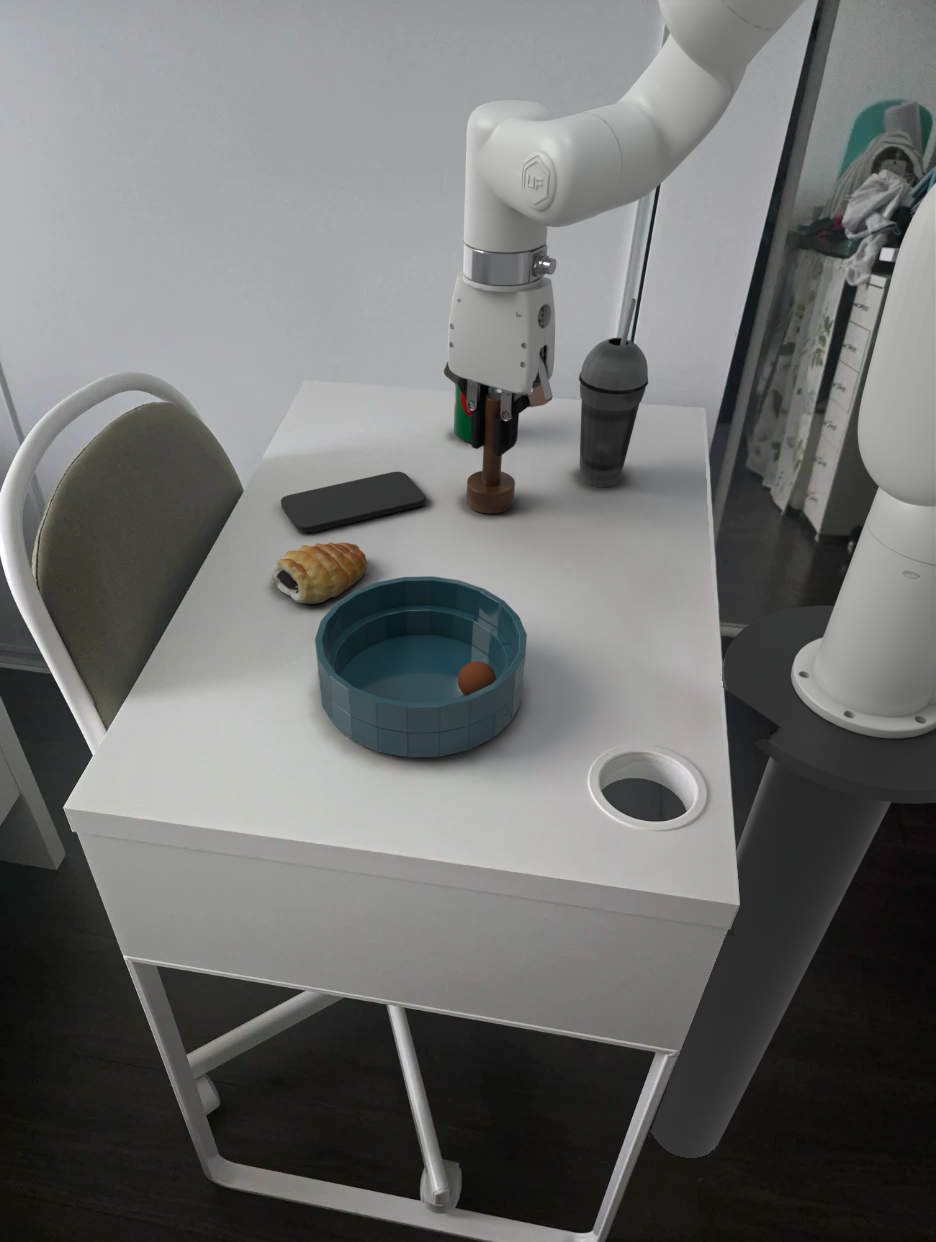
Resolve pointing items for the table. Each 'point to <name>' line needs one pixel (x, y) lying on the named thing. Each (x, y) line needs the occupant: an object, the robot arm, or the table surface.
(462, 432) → the soda can
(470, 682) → the meatball
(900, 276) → the robot arm
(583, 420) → the beverage cup
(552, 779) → the table surface
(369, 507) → the phone
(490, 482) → the wooden knob stand
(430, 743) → the bowl
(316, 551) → the pastry
